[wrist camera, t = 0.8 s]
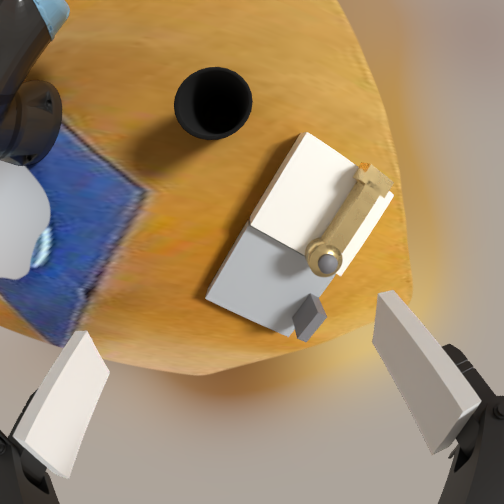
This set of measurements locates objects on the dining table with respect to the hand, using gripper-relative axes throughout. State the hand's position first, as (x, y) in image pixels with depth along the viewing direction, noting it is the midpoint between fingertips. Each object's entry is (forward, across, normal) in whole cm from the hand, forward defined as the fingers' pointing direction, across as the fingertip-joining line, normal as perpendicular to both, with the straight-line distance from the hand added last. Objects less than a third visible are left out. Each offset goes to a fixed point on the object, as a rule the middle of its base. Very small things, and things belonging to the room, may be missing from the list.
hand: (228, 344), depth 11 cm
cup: (+31, 0, +12) cm, 33 cm away
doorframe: (+30, +8, -7) cm, 32 cm away
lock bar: (+25, +14, -4) cm, 29 cm away
